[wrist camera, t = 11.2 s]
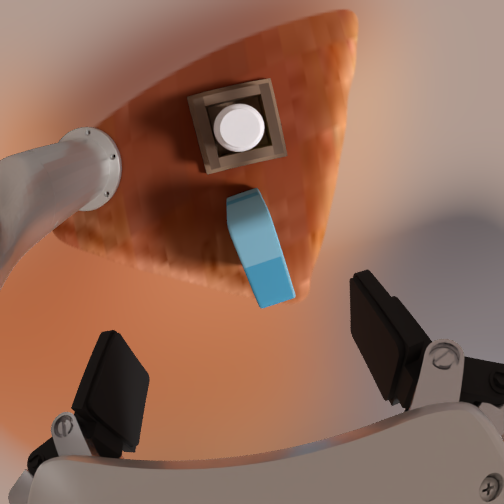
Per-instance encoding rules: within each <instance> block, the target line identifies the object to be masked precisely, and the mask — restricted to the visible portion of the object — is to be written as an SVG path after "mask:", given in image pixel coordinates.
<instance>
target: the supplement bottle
mask: <svg viewBox="0 0 504 504" xmlns="http://www.w3.org/2000/svg"><path fill="white" fill-rule="evenodd" d="M263 133H264V121H263V118H262V116H261V115H260V113H259V112H258V111H257V110H256V109H254V108H253V107H251V106H249V105H246V104H233V105H230V106H228V107H226V108H224V109H223V110H222V111H221V112H220V113H219V114H218V115H217V117H216V119H215V122H214V134H215V137H216V139H217V141H218V142H219V143H220V144H221V145H222V146H223V147H224V148H226V149H228V150H230V151H235V152H243V151H247V150H249V149H251V148H253V147H255V146H256V145H257V144H258V143H259V142H260V140H261V138H262V136H263Z"/></svg>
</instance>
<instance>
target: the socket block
mask: <svg viewBox="0 0 504 504" xmlns="http://www.w3.org/2000/svg"><path fill="white" fill-rule="evenodd" d="M187 100H188V104H189V108H190V112H191V116H192V120H193V123H194V127H195V131H196V135H197V139H198V143H199V146H200V150H201V154H202V158H203V161H204V165H205V169H206V172H207V174H211V173H215V172H219V171H223V170H227V169H231V168H235V167H239V166H243V165H248V164H252V163H256V162H261V161H265V160H270V159H275V158H280V157H285V156H287V151H286V146H285V141H284V136H283V132H282V127H281V122H280V118H279V113H278V109H277V104H276V100H275V95H274V91H273V87H272V83H271V79H270V78H269V79H263V80H257V81H252V82H246V83H241V84H237V85H232V86H227V87H223V88H219V89H215V90H211V91H207V92H203V93H199V94H196V95H192V96H189V97H187ZM233 104H246V105H249V106H251V107H253V108H254V109H256V110H257V111H258V112H259V113H260V115H261V116H262V118H263V121H264V133H263V136H262V138H261V140H260V142H259V143H258V144H257V145H256V146H255V147H253V148H251V149H249V150H247V151H243V152H235V151H230V150H228V149H226V148H224V147H223V146H222V145H221V144H220V143H219V142H218V141H217V139H216V137H215V134H214V122H215V119H216V117H217V115H218V114H219V113H220V112H221V111H222V110H223V109H224V108H226V107H228V106H230V105H233Z"/></svg>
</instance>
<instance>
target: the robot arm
mask: <svg viewBox="0 0 504 504" xmlns="http://www.w3.org/2000/svg"><path fill="white" fill-rule="evenodd" d="M89 132H90V133H89ZM114 154H115V157H114ZM121 171H122V165H121V157H120V153H119V151H118V148H117V146H116V144H115V143H114V141H113V140H112V138H111V137H110V136H108V135H107V134H106V133H105V132H103V131H102V130H100V129H97V128H94V127H81V128H77V129H74V130H72V131H70V132H68V133H67V134H66V135H65V136H63V137H62V138H61V140H60V141H59V142H58V143H55V144H51V145H47V146H43V147H39V148H35V149H31V150H28V151H25V152H21V153H18V154H14V155H11V156H8V157H6V158H4V159H2V160H0V289H1V288H2V286H3V284H4V282H5V281H6V279H7V277H8V276H9V274H10V272H11V271H12V269H13V267H14V266H15V265H16V264H17V262H18V261H19V260H20V259H21V258H22V257H23V256H24V254H25V253H26V252H28V251H29V250H30V249H31V248H32V247H33V246H34V245H35V244H36V243H37V242H39V241H40V240H41V239H42V238H43V237H45V236H46V235H47V234H48V233H50V232H51V231H52V230H53V229H55V228H56V227H57V226H58V225H60V224H61V223H62V222H63V221H65V220H66V219H67V218H69V217H70V216H71V215H73V214H74V213H75V212H77V211H78V210H80V211H90V210H94V209H97V208H99V207H101V206H102V205H104V204H105V203H106V202H107V201H108V200H109V199H110V198H111V197H112V196H113V195H114V193H115V192H116V190H117V188H118V185H119V182H120V178H121ZM108 192H109V194H108ZM350 308H351V309H350V311H351V334H352V337H353V339H354V341H355V342H356V344H357V346H358V348H359V350H360V352H361V354H362V356H363V358H364V360H365V362H366V364H367V366H368V368H369V370H370V372H371V374H372V376H373V378H374V380H375V382H376V384H377V386H378V388H379V390H380V392H381V394H382V396H383V398H384V400H385V401H387V400H389V401H390V403H391V405H392V406H393V405H395V404H398V403H400V404H401V406H402V407H403V408H405V410H404V412H403V413H401V414H398V415H395V416H393V417H390V418H387V419H384V420H381V421H379V422H376V423H373V424H371V425H368V426H365V427H362V428H360V429H357V430H353V431H350V432H347V433H344V434H340V435H337V436H334V437H331V438H327V439H324V440H320V441H316V442H312V443H308V444H304V445H300V446H296V447H292V448H287V449H282V450H277V451H271V452H266V453H260V454H253V455H246V456H239V457H230V458H220V459H208V460H189V461H147V460H130V459H124V457H123V456H122V450H123V451H124V452H135V449H136V446H137V445H138V444H139V439H140V432H141V426H142V419H143V413H144V408H145V402H146V396H147V391H148V386H149V375H148V373H147V371H146V370H145V369H144V367H143V366H142V365H141V363H140V362H139V361H138V359H137V358H136V356H135V355H134V353H133V352H132V351H131V349H130V348H129V346H128V345H127V343H126V342H125V340H124V339H123V337H122V336H121V334H119V333H117V332H116V331H114V330H111V331H105V332H102V333H101V334H100V336H99V339H98V341H97V343H96V345H95V348H94V350H93V352H92V355H91V357H90V360H89V362H88V365H87V367H86V369H85V372H84V375H83V377H82V380H81V382H80V385H79V388H78V390H77V393H76V396H75V399H74V402H73V404H72V407H71V408H72V409H73V410H74V411H75V413H74V415H73V414H72V413H70V412H64V413H61V414H60V415H58V416H57V417H56V418H55V420H54V421H53V423H52V427H51V433H52V437H51V438H50V439H49V440H47V441H46V442H45V443H43V444H42V445H41V446H39V447H38V448H37V449H36V450H34V451H33V452H32V453H31V454H30V456H29V458H28V462H27V466H28V470H29V471H28V470H27V469H25V471H24V472H23V473H22V475H21V476H20V477H19V479H18V480H17V482H16V483H15V484H14V486H13V487H12V489H11V490H10V492H9V496H8V499H9V503H10V504H504V364H501V363H495V362H490V361H484V360H480V359H474V358H470V357H465V356H464V352H463V350H462V348H461V347H460V346H459V345H458V344H457V343H456V342H454V341H452V340H449V339H439V340H435V341H434V342H432V341H431V340H430V338H429V337H428V336H427V334H426V333H425V332H424V330H423V329H422V328H421V327H420V325H419V324H418V323H417V321H416V320H415V319H414V318H413V316H412V315H411V314H410V312H409V311H408V310H407V309H406V308H405V306H404V305H403V304H402V303H401V301H400V300H399V299H398V298H397V297H395V296H393V297H391V296H390V295H389V293H388V292H387V291H386V290H385V289H384V287H383V286H382V285H381V284H380V283H379V282H378V280H377V279H376V278H375V277H374V275H373V274H372V273H371V272H370V271H369V270H364V271H362V272H358V273H355V274H354V276H353V278H351V279H350ZM499 434H500V435H501V436H500V435H499ZM501 437H502V438H501ZM502 439H503V440H502Z"/></svg>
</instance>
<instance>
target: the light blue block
mask: <svg viewBox="0 0 504 504" xmlns="http://www.w3.org/2000/svg"><path fill="white" fill-rule="evenodd" d="M227 225H228V229H229V233H230V236H231V238H232V241H233V243H234V246H235V248H236V251H237V253H238V256H239V258H240V261H241V263H242V266H243V268H244V271H245V273H246V276H247V278H248V281H249V283H250V285H251V288H252V290H253V293H254V295H255V298H256V300H257V302H258V304H259V307H260V308H265V307H268V306H271V305H274V304H277V303H280V302H283V301H286V300H289V299H292V298H295V292H294V289H293V285H292V282H291V279H290V275H289V272H288V269H287V266H286V262H285V259H284V256H283V253H282V250H281V246H280V243H279V240H278V237H277V234H276V231H275V227H274V224H273V221H272V218H271V216H270V213H269V210H268V208H267V206H266V204H265V202H264V200H263V198H262V196H261V194H260V192H259V190H258V188H254V189H251V190H248V191H245V192H243V193H240V194H237V195H234V196H231V197H228V198H227Z"/></svg>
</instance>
